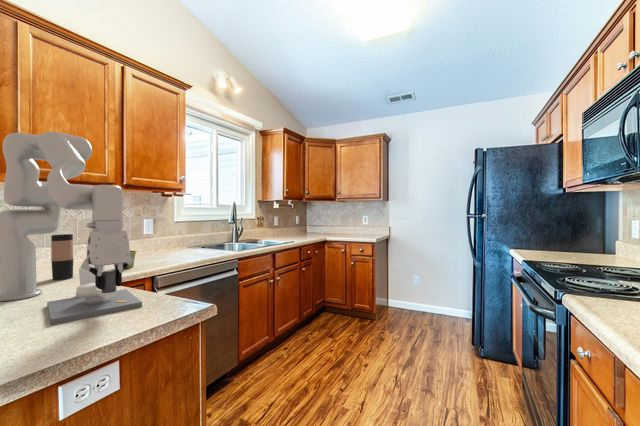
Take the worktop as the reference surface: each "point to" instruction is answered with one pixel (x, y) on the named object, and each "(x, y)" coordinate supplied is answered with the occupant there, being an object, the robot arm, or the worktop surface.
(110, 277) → the lever handle
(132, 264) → the plant pot
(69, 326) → the worktop surface
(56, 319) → the post base
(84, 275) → the white cup
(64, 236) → the travel mug
